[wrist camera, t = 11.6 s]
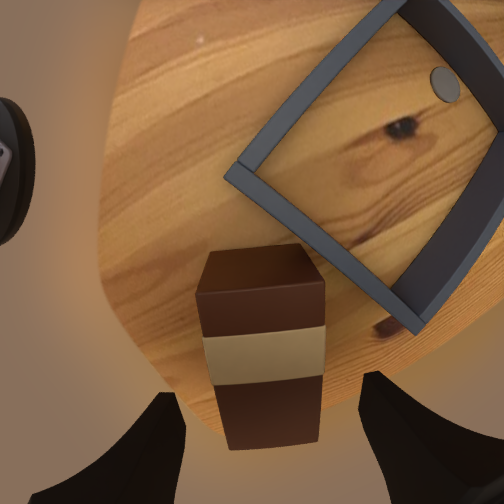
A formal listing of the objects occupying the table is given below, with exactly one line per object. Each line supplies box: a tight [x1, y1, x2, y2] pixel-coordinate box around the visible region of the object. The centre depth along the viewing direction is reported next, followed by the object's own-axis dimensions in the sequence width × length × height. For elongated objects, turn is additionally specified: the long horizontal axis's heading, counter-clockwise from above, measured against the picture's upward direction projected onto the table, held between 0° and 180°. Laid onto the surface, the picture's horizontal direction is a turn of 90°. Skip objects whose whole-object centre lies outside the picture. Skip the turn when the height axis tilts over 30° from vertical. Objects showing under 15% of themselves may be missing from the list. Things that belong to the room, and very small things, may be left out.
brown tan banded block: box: [195, 244, 326, 450], centre depth 14 cm, size 5×9×5 cm, turn 5°
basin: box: [223, 0, 504, 336], centre depth 12 cm, size 12×15×4 cm
